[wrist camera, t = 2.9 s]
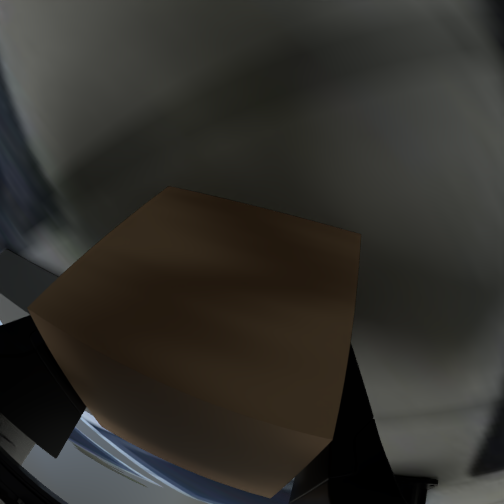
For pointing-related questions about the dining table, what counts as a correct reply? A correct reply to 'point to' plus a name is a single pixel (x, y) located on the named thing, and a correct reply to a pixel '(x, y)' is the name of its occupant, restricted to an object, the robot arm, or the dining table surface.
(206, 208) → the walnut cube
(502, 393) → the dining table surface
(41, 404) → the robot arm
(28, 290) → the slate slab
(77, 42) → the dining table surface
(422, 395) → the dining table surface
